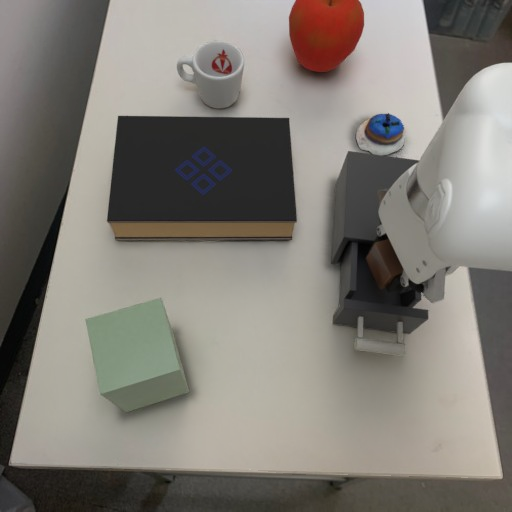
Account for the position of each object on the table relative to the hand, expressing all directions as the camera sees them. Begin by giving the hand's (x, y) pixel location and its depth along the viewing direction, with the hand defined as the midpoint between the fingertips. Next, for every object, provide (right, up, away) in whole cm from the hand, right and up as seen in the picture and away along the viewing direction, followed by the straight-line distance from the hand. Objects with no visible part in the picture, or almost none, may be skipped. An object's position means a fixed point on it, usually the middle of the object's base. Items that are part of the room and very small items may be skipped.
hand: (389, 267), depth 61 cm
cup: (-24, +28, +21) cm, 43 cm away
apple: (-6, +35, +26) cm, 44 cm away
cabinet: (+1, +6, +12) cm, 14 cm away
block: (0, 0, 0) cm, 0 cm away
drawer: (-1, -5, +7) cm, 8 cm away
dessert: (+4, +21, +20) cm, 29 cm away
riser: (-30, -13, +2) cm, 33 cm away
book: (-24, +11, +14) cm, 30 cm away
